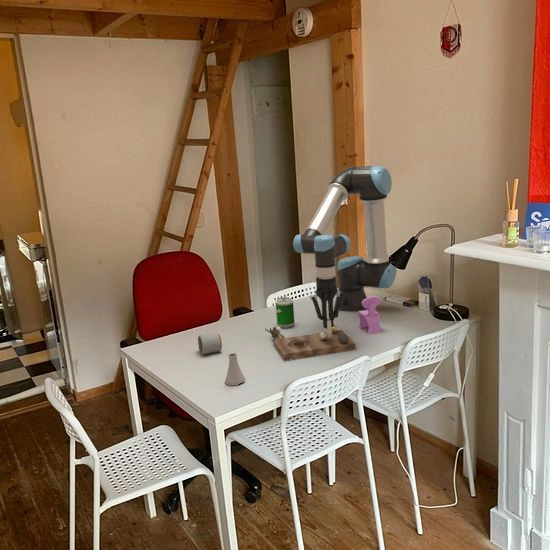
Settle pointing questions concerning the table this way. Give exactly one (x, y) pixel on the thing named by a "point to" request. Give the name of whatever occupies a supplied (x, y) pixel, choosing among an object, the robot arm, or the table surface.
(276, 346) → the board
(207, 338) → the grey cylinder
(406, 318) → the table surface
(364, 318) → the toy chair
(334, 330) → the brass ball
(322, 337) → the steel ball
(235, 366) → the flask
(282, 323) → the soda can
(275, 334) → the eagle figurine
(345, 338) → the black rubber ball
